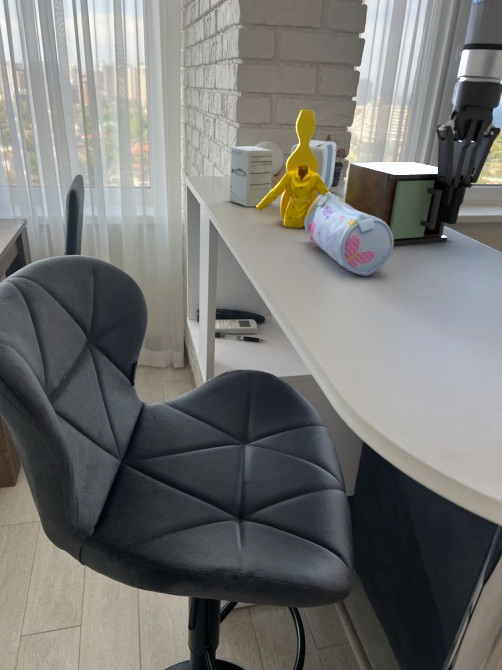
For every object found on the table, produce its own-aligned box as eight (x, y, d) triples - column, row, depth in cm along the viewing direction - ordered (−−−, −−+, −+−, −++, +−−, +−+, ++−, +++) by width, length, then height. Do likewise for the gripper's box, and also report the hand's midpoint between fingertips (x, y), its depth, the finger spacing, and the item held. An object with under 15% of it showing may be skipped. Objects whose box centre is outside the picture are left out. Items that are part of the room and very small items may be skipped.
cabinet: (446, 241, 100) (462, 173, 94) (381, 246, 94) (393, 174, 88) (402, 224, 111) (413, 162, 105) (341, 228, 105) (349, 163, 99)
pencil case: (301, 241, 94) (306, 189, 90) (345, 241, 96) (351, 190, 92) (338, 280, 76) (346, 217, 72) (392, 279, 78) (403, 217, 73)
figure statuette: (255, 226, 102) (261, 108, 93) (255, 217, 109) (261, 106, 100) (342, 231, 102) (357, 113, 93) (337, 222, 109) (351, 111, 100)
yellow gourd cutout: (318, 204, 125) (327, 117, 116) (286, 200, 127) (293, 114, 118) (332, 191, 143) (341, 114, 134) (304, 188, 145) (311, 112, 136)
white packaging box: (228, 201, 123) (230, 146, 118) (252, 198, 127) (255, 145, 122) (246, 207, 118) (248, 150, 113) (270, 204, 122) (274, 149, 117)
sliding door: (434, 241, 95) (447, 183, 90) (400, 244, 92) (412, 184, 87) (420, 235, 98) (432, 179, 93) (387, 238, 95) (397, 180, 90)
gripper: (490, 82, 89) (458, 216, 100) (434, 78, 84) (406, 219, 95) (526, 83, 83) (488, 225, 94) (468, 79, 78) (434, 229, 89)
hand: (447, 222), depth 94 cm, fingers closed
